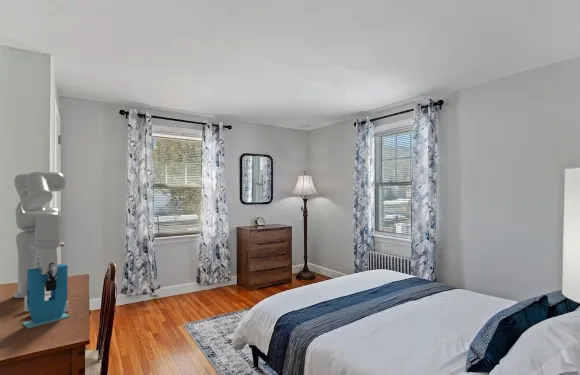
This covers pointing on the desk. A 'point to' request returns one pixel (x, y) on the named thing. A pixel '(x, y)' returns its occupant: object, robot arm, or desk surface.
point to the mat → (31, 324)
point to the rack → (47, 294)
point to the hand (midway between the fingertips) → (46, 287)
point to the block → (36, 295)
